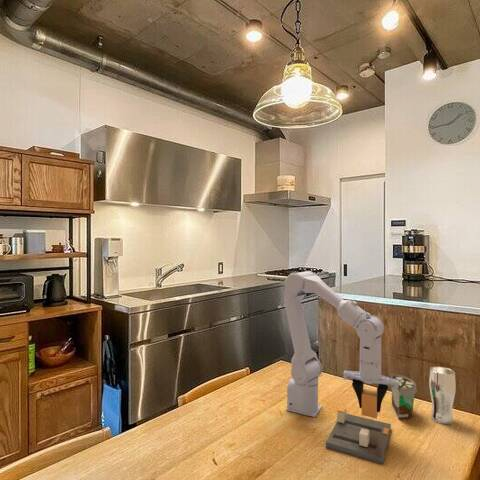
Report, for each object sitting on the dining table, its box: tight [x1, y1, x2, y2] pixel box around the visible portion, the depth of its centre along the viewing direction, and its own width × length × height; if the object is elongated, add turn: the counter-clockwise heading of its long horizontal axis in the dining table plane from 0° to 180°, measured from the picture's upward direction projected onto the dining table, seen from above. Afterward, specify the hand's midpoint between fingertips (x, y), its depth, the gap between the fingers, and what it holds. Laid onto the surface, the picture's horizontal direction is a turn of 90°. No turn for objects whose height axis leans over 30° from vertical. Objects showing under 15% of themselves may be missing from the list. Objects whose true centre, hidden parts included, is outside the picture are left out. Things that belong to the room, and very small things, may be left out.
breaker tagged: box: [336, 405, 347, 423], centre depth 104 cm, size 2×3×3 cm, turn 151°
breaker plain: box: [359, 428, 369, 447], centre depth 92 cm, size 2×3×3 cm, turn 151°
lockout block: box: [361, 387, 380, 419], centre depth 100 cm, size 4×4×6 cm
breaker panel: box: [325, 413, 392, 465], centre depth 98 cm, size 14×18×2 cm
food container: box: [390, 373, 418, 421], centre depth 112 cm, size 12×6×10 cm, turn 168°
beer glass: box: [428, 366, 457, 426], centre depth 108 cm, size 7×7×15 cm
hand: (370, 408), depth 100 cm, fingers closed on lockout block, 4 cm apart
